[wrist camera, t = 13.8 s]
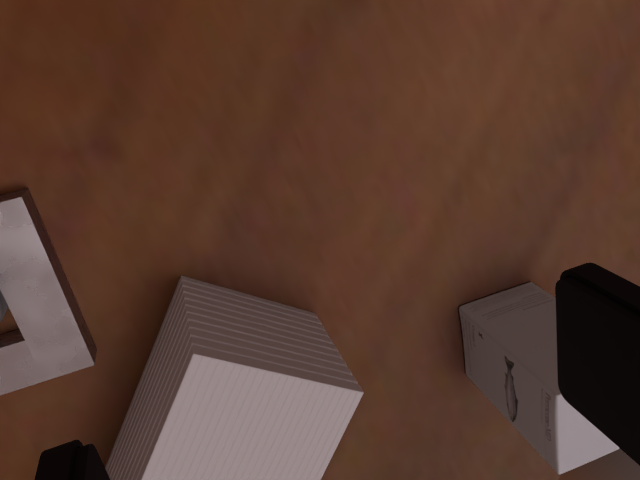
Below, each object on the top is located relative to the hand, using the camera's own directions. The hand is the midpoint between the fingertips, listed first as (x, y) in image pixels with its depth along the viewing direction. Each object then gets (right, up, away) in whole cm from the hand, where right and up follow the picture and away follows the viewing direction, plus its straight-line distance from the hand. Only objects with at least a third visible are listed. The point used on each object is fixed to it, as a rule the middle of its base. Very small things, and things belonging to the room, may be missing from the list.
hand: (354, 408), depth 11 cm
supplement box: (+15, -4, +38) cm, 41 cm away
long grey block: (-12, -15, +34) cm, 39 cm away
